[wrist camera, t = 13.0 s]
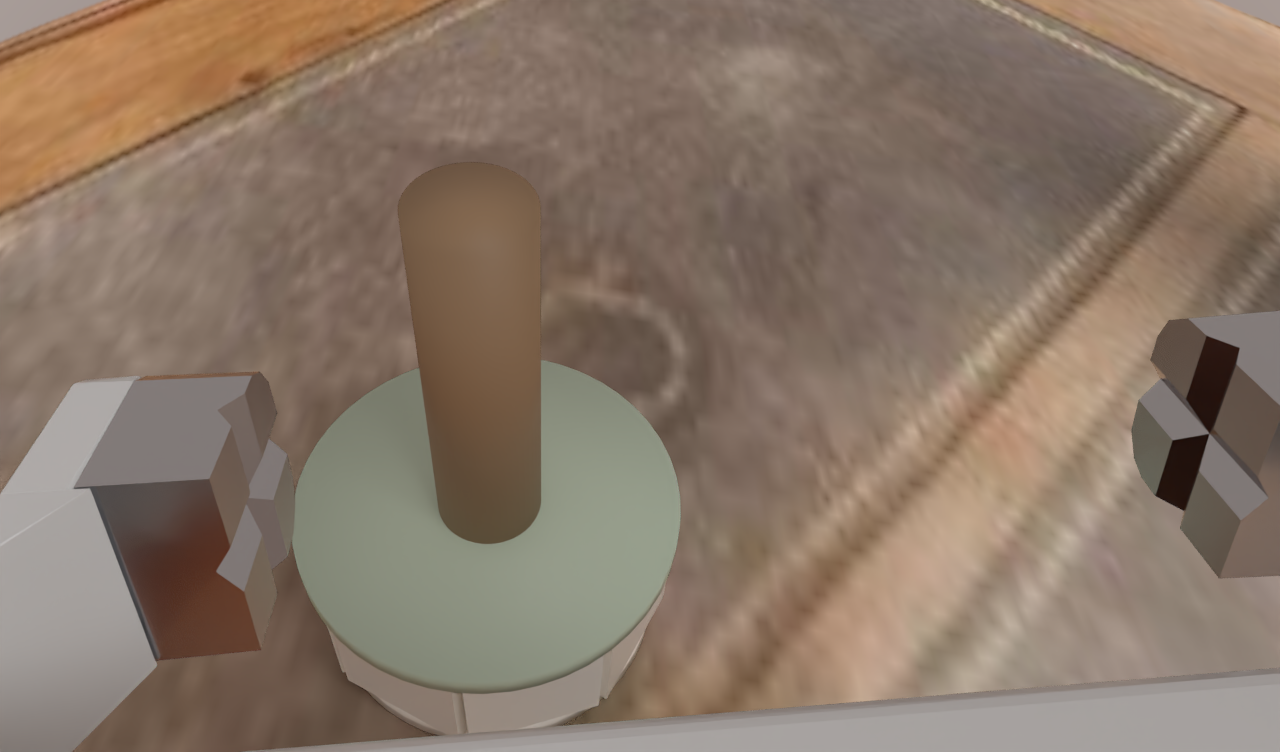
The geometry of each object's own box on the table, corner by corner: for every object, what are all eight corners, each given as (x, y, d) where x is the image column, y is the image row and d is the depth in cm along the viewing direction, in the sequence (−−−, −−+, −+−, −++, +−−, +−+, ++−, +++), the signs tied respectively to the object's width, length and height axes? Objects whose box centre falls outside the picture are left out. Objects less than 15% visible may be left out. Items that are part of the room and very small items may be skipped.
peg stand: (437, 323, 39) (401, 6, 29) (736, 455, 36) (809, 152, 26) (211, 579, 32) (63, 272, 22) (562, 769, 29) (573, 514, 19)
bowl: (450, 420, 42) (441, 337, 39) (700, 537, 40) (717, 459, 36) (269, 646, 36) (235, 572, 32) (553, 804, 33) (555, 744, 29)
